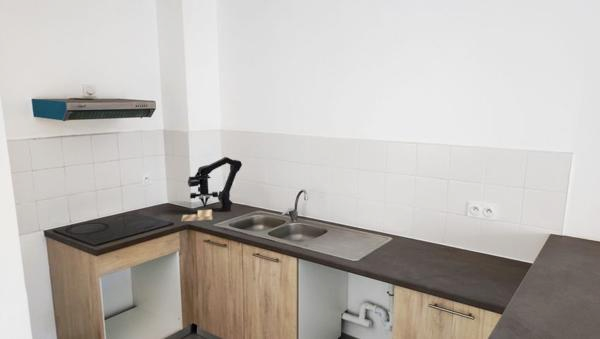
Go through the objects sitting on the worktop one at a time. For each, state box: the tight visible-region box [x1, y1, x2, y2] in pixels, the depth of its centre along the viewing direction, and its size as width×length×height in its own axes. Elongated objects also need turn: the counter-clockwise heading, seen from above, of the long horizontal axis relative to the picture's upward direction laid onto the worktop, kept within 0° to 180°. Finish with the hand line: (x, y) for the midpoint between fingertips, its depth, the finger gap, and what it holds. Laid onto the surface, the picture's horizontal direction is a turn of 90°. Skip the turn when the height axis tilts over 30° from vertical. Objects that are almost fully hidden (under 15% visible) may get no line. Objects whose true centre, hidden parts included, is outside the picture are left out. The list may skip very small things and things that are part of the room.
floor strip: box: [180, 215, 213, 222], centre depth 278 cm, size 20×8×1 cm, turn 102°
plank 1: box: [181, 213, 198, 219], centre depth 284 cm, size 10×7×1 cm
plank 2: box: [197, 209, 213, 217], centre depth 286 cm, size 10×7×1 cm
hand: (204, 207), depth 288 cm, fingers closed
